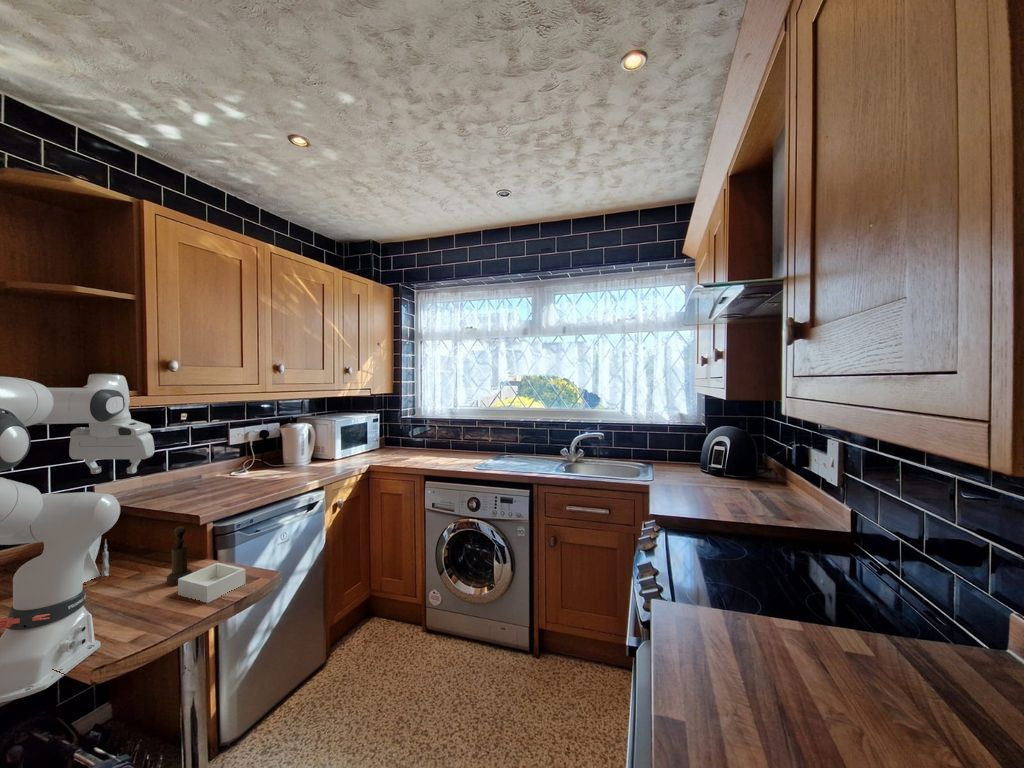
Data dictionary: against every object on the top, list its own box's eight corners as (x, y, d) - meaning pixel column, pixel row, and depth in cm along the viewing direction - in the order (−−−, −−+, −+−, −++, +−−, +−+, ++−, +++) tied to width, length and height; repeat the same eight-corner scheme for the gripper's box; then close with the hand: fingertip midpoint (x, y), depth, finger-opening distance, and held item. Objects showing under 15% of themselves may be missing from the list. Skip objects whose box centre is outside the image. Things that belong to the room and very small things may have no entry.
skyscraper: (80, 588, 129) (80, 500, 129) (60, 585, 131) (60, 499, 130) (110, 575, 138) (111, 493, 137) (91, 573, 139) (91, 492, 139)
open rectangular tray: (207, 603, 121) (207, 586, 121) (178, 594, 125) (178, 578, 125) (245, 584, 132) (245, 568, 132) (217, 577, 137) (217, 562, 137)
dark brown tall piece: (162, 582, 133) (162, 528, 133) (186, 574, 138) (186, 522, 138) (172, 587, 130) (172, 531, 129) (196, 579, 135) (196, 525, 135)
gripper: (60, 429, 115) (64, 476, 116) (141, 430, 118) (144, 476, 119) (80, 424, 121) (83, 469, 122) (156, 425, 124) (159, 469, 125)
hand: (114, 473), depth 121 cm, fingers open, 8 cm apart
